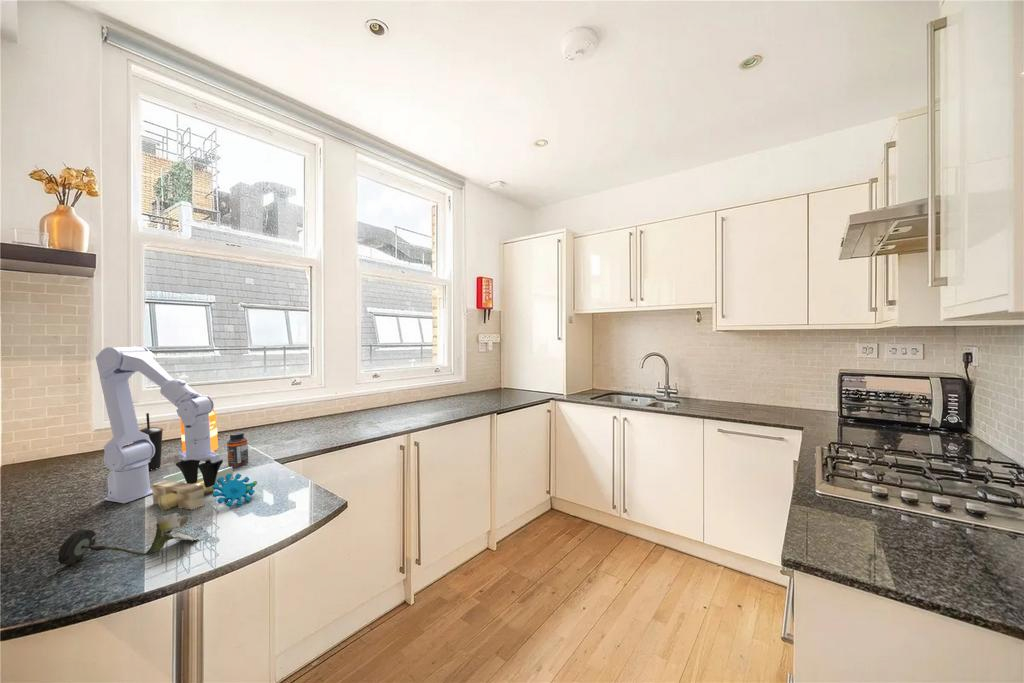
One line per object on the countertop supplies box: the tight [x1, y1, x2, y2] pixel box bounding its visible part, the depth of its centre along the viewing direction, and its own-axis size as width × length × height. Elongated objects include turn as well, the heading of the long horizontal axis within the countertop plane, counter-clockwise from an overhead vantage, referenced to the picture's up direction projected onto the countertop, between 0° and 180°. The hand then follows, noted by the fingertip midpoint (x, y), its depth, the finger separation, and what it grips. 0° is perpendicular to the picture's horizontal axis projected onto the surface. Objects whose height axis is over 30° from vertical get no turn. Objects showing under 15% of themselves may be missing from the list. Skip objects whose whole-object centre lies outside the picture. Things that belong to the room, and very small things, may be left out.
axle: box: [157, 481, 216, 511], centre depth 107 cm, size 12×4×4 cm, turn 161°
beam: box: [151, 480, 205, 511], centre depth 105 cm, size 16×3×5 cm, turn 71°
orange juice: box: [180, 408, 219, 452], centre depth 152 cm, size 8×9×20 cm
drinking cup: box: [139, 412, 164, 470], centre depth 134 cm, size 8×8×20 cm
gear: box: [212, 473, 258, 508], centre depth 105 cm, size 11×6×10 cm
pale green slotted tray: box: [162, 466, 234, 484], centre depth 119 cm, size 13×12×4 cm
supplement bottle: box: [226, 431, 249, 468], centre depth 136 cm, size 6×6×11 cm
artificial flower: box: [57, 512, 197, 566], centre depth 82 cm, size 9×22×10 cm, turn 98°
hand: (201, 484), depth 110 cm, fingers open, 7 cm apart
